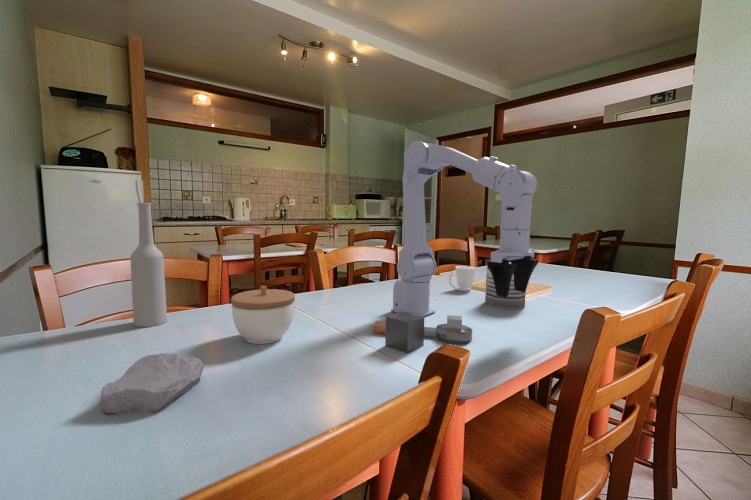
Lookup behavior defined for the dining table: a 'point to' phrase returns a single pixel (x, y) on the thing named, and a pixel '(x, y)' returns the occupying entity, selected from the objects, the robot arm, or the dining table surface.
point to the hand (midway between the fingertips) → (511, 293)
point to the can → (510, 302)
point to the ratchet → (440, 331)
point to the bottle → (147, 275)
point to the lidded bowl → (263, 314)
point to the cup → (463, 277)
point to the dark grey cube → (404, 331)
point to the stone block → (151, 383)
